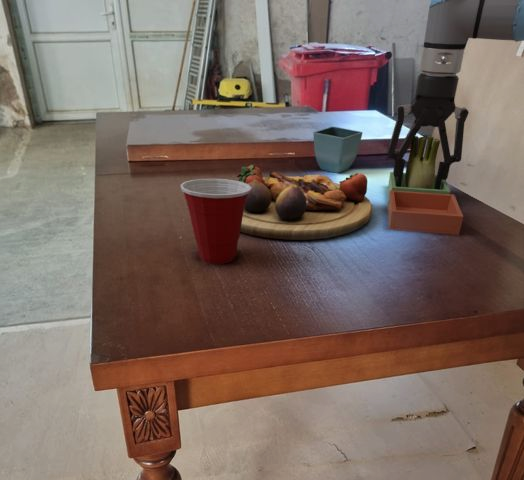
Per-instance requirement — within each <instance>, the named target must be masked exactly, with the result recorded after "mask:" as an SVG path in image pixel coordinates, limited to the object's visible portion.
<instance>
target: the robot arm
mask: <svg viewBox="0 0 524 480" xmlns="http://www.w3.org/2000/svg"><path fill="white" fill-rule="evenodd" d="M425 27H426V28H425V32H424V33H425V34H424V40H423V46H422V51H421V57H420V61H419V62H420V63H419V71H420V72H421V73H419V74H418V76H417V81H416V85H415V93H414V97H413V100H412V101H411V103H408V104H404V105H403V104H401V103H400V104H398V105H397V106H396V113H397V114H396V115H397V116H396V121H395V124H394V126H393V127H394V128H393V131H392V134H391V138H390V140H389V141H390V142H389V145H388V149H387V157H388V158H389V159H393V160H394V165H393V171H392V172H393V174H394V177H398V178H397V184H396V187H401V183H402V177H403V173H404V171H405V165H406V162H405V161H406V160H405V159H404V157H405V155H406V154H407V152H408V150H409V148H410V147H411V143H412V141H413V139H414V137H415V136H417V134H418V132H419V131H420V130H421V128H422V127H432V128H437V129H438V135H439V140H440V145H441V150H442V151H441V152H442V157H443V161H439V163H438V167H437V173H436V175H437V177H436V182H435V187H434V189H437V190H440V186H441V181H442V180H446V181H447V180H448V178H449V173H450V168H451V166H452V164H453V163H459V162H461V160H462V153H463V143H464V132H465V123H466V120H467V118H468V116H469V113H470V112H469V110H468V109H467V108H466V107H459V106H456V103H455V99H456V93H457V89H458V84H459V79H460V77H459V76H458V75H457V74H459V73H460V72H461V69H462V64H463V59H464V54H465V49H466V45H467V40H468V39H474V40H476V39H480V40H481V39H482V40H495V41H496V40H497V41H512V42H513V41H514V42H515V43H518V42H524V0H430V2H429V7H428V14H427V20H426V26H425ZM410 111H411V112H412V114H413V116H414V121H413V122H412V125H411V127H410V129H409V131H408V133H407V134H406V136H405V138H404V139H403V141H402V143H401V145H400V146H399V148H398V150H397V151H396V149H397V145H398V141H399V139H400V135H401V132H402V128H403V125H404V121H405V118H406V117H407V116H409V112H410ZM453 113H454V118H455V120H456V122H455V133H454V144H453V145H454V146H453V154H451V150H450V144H449V140H448V133H447V127H446V121H447V120H448V119H449V118H450V117H451V116H452V115H453Z"/></svg>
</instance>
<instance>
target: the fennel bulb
mask: <svg viewBox="0 0 524 480" xmlns="http://www.w3.org/2000/svg"><path fill="white" fill-rule="evenodd" d="M434 137H435V136H428V137H426V136H420V137H419V136H418V135H416V136H415V137H414V139H413V141H412V143H411V144H410V149H409V155H408V159H407V163H406V166H405V167H406V168H405V173H406V175H405V184H406V187H408V188H423V189H432V188H433V184H434V177H435V175H436V159H437V155H438V151H439V147H440V145H441V141H440V138H434Z"/></svg>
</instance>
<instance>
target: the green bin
mask: <svg viewBox="0 0 524 480" xmlns="http://www.w3.org/2000/svg"><path fill="white" fill-rule="evenodd" d="M405 175H406V172H403V177H402V183H401V187H396V184H397V178H398V177H394V174H393V171H390V172H389V178H388V185H387V191H388V195H389V193H390V190H394V191H408V192H423V193H437V194H451V190H450V187H449V184H448V182H447V179H446V180H442V181H441V186H440V190H437V189H434V187H435V182H436V177H437V174H435V177H434V184H433V188H432V189H423V188H408V187H406V184H405Z"/></svg>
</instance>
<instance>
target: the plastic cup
mask: <svg viewBox="0 0 524 480" xmlns="http://www.w3.org/2000/svg"><path fill="white" fill-rule="evenodd" d="M179 186H180V189H181V192H183V194H184V199H185V202H186V204H187V209H188V213H189V217H190V223H191V227H192V231H193V235H194V239H195V242H196V246H197V250H198V251H197V252H198V255H199V257H200V260H202V262H204V263H208V264H210V265H211V264H213V265H222V264H227V263H230V262H232V261H233V260H234V259H235V258H236V255H237V252H238V251H237V250H238V244H239V240H240V235H241V232H240V229H241V224H242V218H243V212H244V207H245V203H246V200H247V196H248V194H249V192H250V191H251V188H252V187H251V186H250V185H249V184H246V183H243V182H240V181H238V180H234V179H226V178H197V179H191V180H187V181H183V182H182V183H181V184H180V185H179Z"/></svg>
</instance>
